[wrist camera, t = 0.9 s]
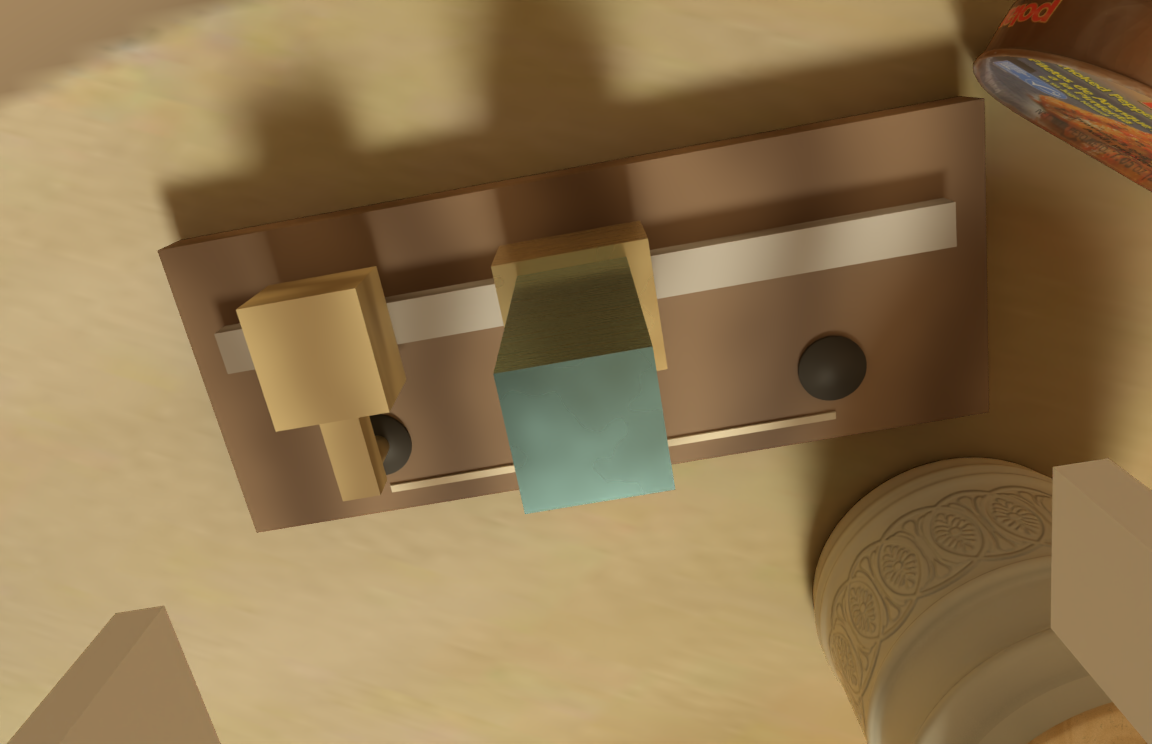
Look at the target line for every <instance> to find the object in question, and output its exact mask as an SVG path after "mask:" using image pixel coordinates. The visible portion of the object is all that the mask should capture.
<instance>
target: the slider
mask: <svg viewBox="0 0 1152 744" xmlns="http://www.w3.org/2000/svg"><path fill="white" fill-rule="evenodd" d="M491 269H492V274H493V278H494V283H495V288H496V292H497V297H498V301H499V306H500V311H501V315H502V320H503V324H504V332H503V336H502V340H501V344H500V348H499V352H498V356H497V361H496V365H495V369H494V373H493V375H494V380H495V384H496V388H497V393H498V397H499V402H500V406H501V410H502V415H503V419H504V424H505V428H506V432H507V437H508V441H509V446H510V450H511V454H512V459H513V463H514V468H515V472H516V477H517V481H518V485H519V490H520V494H521V499H522V503H523V507H524V512H525V514H528V513H534V512H540V511H546V510H553V509H559V508H565V507H571V506H577V505H583V504H589V503H596V502H602V501H608V500H614V499H620V498H626V497H632V496H639V495H645V494H651V493H657V492H663V491H669V490H675V485H674V479H673V472H672V466H671V460H670V453H669V447H668V441H667V434H666V428H665V421H664V415H663V409H662V402H661V396H660V389H659V383H658V377H657V371H660V370H665V369H668V368H667V361H666V354H665V348H664V341H663V335H662V328H661V321H660V315H659V308H658V302H657V295H656V288H655V282H654V275H653V269H652V262H651V256H650V249H649V242H648V238H647V235H646V233H645V231H644V229H643V226H642V224H641V222H640V221H635V222H629V223H624V224H618V225H613V226H607V227H602V228H596V229H590V230H585V231H579V232H574V233H568V234H563V235H557V236H552V237H546V238H541V239H535V240H529V241H524V242H518V243H513V244H507V245H502V246H499V247H498V250H497V252H496V255H495V257H494V260H493V262H492V265H491Z"/></svg>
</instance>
